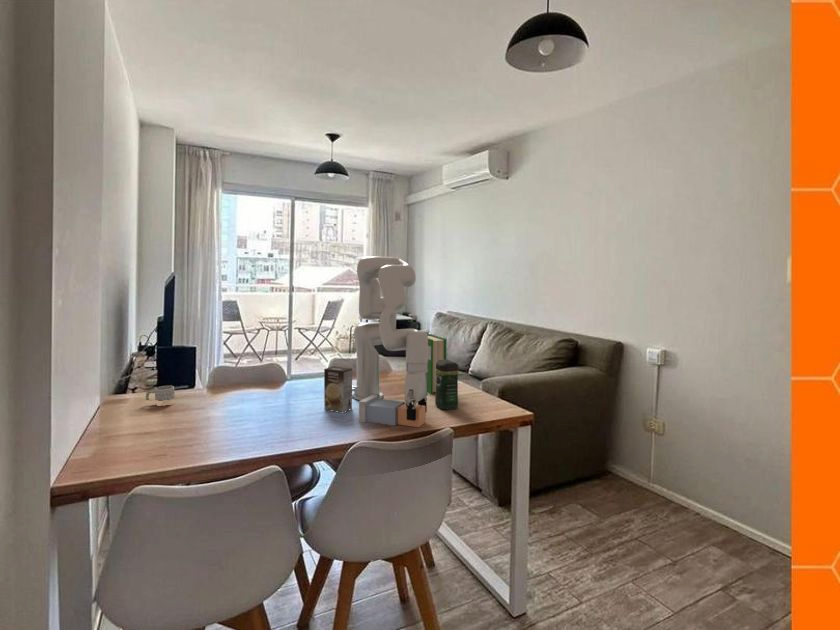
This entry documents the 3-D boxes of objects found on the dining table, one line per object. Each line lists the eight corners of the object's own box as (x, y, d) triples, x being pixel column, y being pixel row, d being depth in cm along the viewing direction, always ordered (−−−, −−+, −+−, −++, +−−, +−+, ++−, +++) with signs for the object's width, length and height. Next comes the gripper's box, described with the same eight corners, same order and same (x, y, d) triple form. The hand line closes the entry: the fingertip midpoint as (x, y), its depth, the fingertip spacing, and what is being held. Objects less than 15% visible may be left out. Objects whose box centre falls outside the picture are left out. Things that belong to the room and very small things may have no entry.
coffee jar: (461, 409, 176) (461, 361, 175) (442, 411, 173) (442, 363, 172) (450, 402, 185) (451, 357, 184) (432, 404, 182) (433, 358, 181)
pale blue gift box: (357, 421, 161) (357, 401, 160) (372, 412, 171) (372, 393, 170) (393, 426, 156) (393, 406, 155) (406, 417, 166) (406, 398, 165)
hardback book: (446, 392, 201) (446, 338, 199) (430, 394, 198) (431, 339, 196) (430, 383, 217) (430, 333, 215) (415, 385, 214) (416, 334, 212)
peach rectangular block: (397, 424, 158) (397, 407, 157) (404, 419, 163) (404, 402, 163) (418, 427, 155) (419, 410, 154) (425, 422, 160) (425, 405, 160)
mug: (176, 401, 184) (175, 385, 184) (173, 405, 178) (172, 389, 178) (148, 403, 181) (147, 386, 181) (143, 408, 175) (143, 391, 174)
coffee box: (323, 410, 174) (322, 368, 172) (333, 405, 180) (333, 365, 178) (343, 413, 170) (343, 371, 169) (353, 408, 176) (352, 367, 174)
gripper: (416, 362, 166) (416, 408, 167) (396, 371, 150) (396, 422, 151) (435, 363, 163) (435, 410, 164) (417, 372, 147) (417, 424, 148)
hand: (416, 416), depth 158 cm, fingers open, 9 cm apart
